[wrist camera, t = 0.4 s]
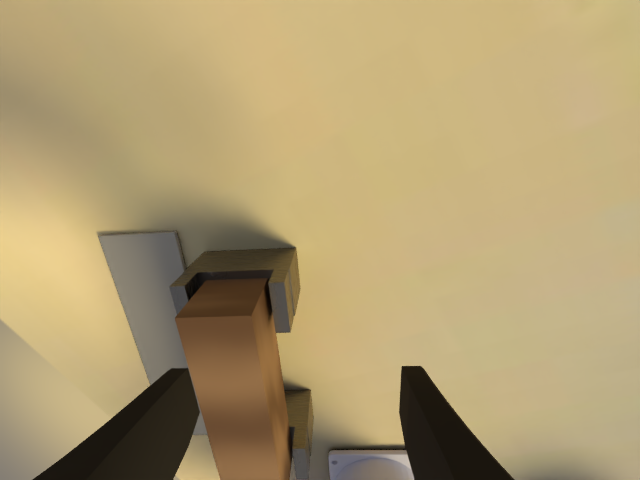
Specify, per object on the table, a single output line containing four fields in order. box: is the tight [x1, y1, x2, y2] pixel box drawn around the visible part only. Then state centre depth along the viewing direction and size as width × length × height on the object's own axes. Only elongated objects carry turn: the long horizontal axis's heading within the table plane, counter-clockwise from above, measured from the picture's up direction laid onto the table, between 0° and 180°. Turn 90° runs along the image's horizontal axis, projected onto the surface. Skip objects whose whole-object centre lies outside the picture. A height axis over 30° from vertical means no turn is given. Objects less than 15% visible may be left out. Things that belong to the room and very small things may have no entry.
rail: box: [175, 278, 293, 480], centre depth 17 cm, size 14×4×4 cm, turn 4°
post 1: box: [169, 248, 300, 333], centre depth 17 cm, size 3×6×4 cm, turn 94°
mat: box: [98, 231, 208, 435], centre depth 22 cm, size 18×5×1 cm, turn 4°
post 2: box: [284, 390, 313, 479], centre depth 22 cm, size 3×6×4 cm, turn 94°
